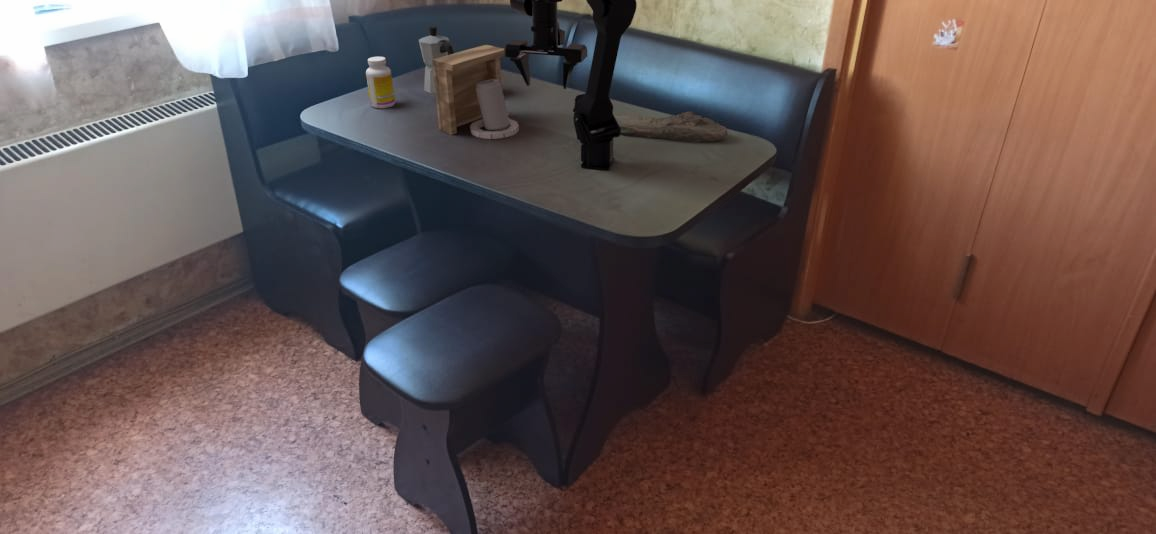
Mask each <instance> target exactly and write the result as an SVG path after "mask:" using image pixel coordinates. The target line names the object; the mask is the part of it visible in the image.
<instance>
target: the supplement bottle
mask: <svg viewBox="0 0 1156 534" xmlns="http://www.w3.org/2000/svg"><path fill="white" fill-rule="evenodd" d="M367 64H368V66H369V67H368V68H367V69H366V71H365V76H366V81H367V82H366V83H367V88H368V89H367V90H368V97H369V103H370V106H371V107H372V108H374V107H375V109H387V108H390V107H393V106H394V105H395V103H396V99H395V98H396V97H395V93H394V92H395V91H394V86H393V85H394V84H393V77H392V76H393V75H392V70H391V68H390V67H389V66H386V64H387V59H386V57H384V56H372V57H369V58H368V59H367Z"/></svg>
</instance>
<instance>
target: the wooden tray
mask: <svg viewBox="0 0 1156 534" xmlns="http://www.w3.org/2000/svg"><path fill="white" fill-rule="evenodd" d="M502 57H505V54H504V48H502V47H499V46H494V45H489V44H483V45H479V46H476V47H473V48H469V49H468V48H467V49H465V50H462V51H458V52H454V54H450V55H447V56H443V57H440V58H436V59H433V60H432V64H433V74H434V83H435V93H436V94H435V101H436V111H437V119H438V120H437V123H438V130H439V131H441V132H443V133H447V134H449V135H455V134H457V132H458V130H457V128H458V127H460V126H464V125H466V124H469V123H471V122H472V123H473V122H476V121H478V120H481V119H483V117H482V113H481V109H480V105H479V101H478V97H477V93H476V87H477V86H476V84H477V83H479V82H481V81H485V80H490V79H498V82H499V83H500V84H501V85H502V74H501V73H502V72H501V71H502V70H501V58H502Z"/></svg>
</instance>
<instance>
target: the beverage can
mask: <svg viewBox="0 0 1156 534" xmlns="http://www.w3.org/2000/svg"><path fill="white" fill-rule="evenodd" d="M476 86H477V87H476V93H477V97H478V101H479V105H480V109H481V113H482V117H483V118H482V119H483V122H484V128H485V130H486V131H492V132H493V131H502V130H505V129H508V128H509V127H508V125H509V124H510V121H509V119H510V118H509V113H508V108H507V104H506V101H505V96H504V91H503V88H502V87H503V86H502V83H501V84H500V83H499V82H498V79H490V80H485V81H481V82H479V83H477V84H476Z"/></svg>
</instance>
